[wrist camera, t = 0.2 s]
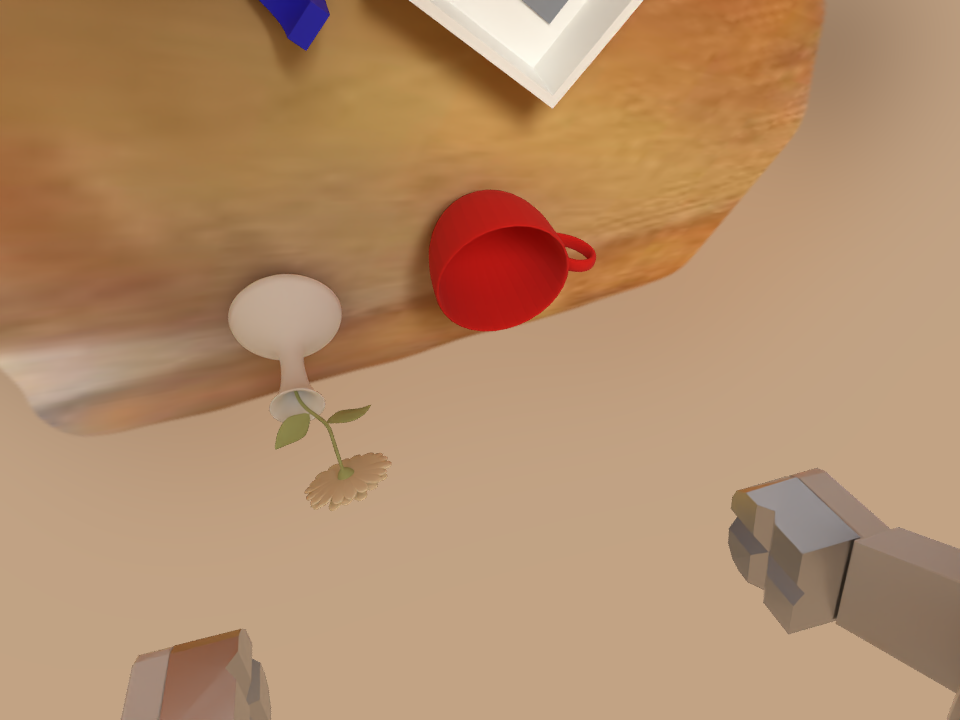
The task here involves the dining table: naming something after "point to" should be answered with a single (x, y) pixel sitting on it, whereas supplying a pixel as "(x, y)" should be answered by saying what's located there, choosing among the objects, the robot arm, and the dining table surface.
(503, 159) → the dining table surface
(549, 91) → the walled box
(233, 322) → the flower in vase
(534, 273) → the ceramic cup
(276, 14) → the blue curved block
